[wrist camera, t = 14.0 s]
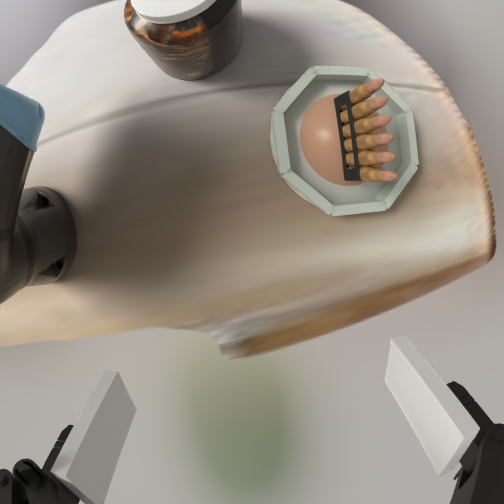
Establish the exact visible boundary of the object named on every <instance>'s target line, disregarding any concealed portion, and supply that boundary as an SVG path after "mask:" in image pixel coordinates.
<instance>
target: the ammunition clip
mask: <svg viewBox="0 0 504 504" xmlns="http://www.w3.org/2000/svg"><path fill="white" fill-rule="evenodd" d="M384 82H385V81H384V80H383V79H374V80H372V81H370V82H367V83H365V84H361V85H359V86H358V87H356V88H355V89H353V90H352V91H346V92H344V93H343V94H341V95H339V96H337V97H335V98H334V104H335V110H336V117H337V124H338V131H339V138H340V146H341V154H342V163H343V172H344V180H345V181H368V182H376V183H377V182H384V181H385V182H389V181H393V180H395V179H397V177H398V176H397V174H396V173H394V172H393V171H391V170H386V169H381V168H379V167H373V166H376V165H379V164H383V163H389V162H392V161H394V160H395V158H396V156H395V155H394V154H393V153H391V152H387V151H377V150H371V149H374V148H377V147H378V146H382V145H386V144H388V143H390V142H391V141H393V139H394V137H393V136H392V135H391V134H387V133H377V134H374V133H370V132H373V131H375V130H376V129H378V128H381V127H383V126H385V125H387V124H388V123H389V122H390V121H391V117H390V116H387V115H378V116H373V117H367V116H369V115H371V114H373V113H374V112H375V111H377V110H378V109H381V108H382V107H384V106H385V105H386V104H387V102H388V98H386V97H376V98H373V99H370V100H366V99H368V98H370V97H371V96H372V94H374V93H375V92H377V91H378V90H380V89H381V88H382V86H383V85H384ZM359 119H360V120H359ZM354 121H355V122H354ZM362 134H365V135H362ZM359 135H361V136H359ZM360 150H367V151H360ZM366 166H367V167H366Z"/></svg>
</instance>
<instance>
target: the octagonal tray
mask: <svg viewBox="0 0 504 504" xmlns="http://www.w3.org/2000/svg"><path fill="white" fill-rule="evenodd" d="M374 79H381V78H380V77H379V76H378V75H377V74H376V73H375V72H374V71H373V70H371V69H370V70H368V68H367V67H352V66H312V68H311V67H309V69H308V70H307V71H306V72H305V73H304V74H303V75H302V76H301V77H300V78H299V80H298V81H297V82H296V83H294V84H293V85H292V86H291V87H290V88H289V89H288V90H287V91H286V92H285V94H284V95H283V96H282V98H281V100H280V101H279V102H278V103H277V105H276V106H275V107H274V108H273V110H272V112H271V115H270V118H271V126H270V145H271V150H272V155H273V158H274V161H275V164H276V166H277V170H278V173H280V174H281V175H280V177H281V178H283V179H284V180H285V182H286V183H287V184H288V185H289V186H290V188H291V189H292V190H293V191H295V192H296V193H297V194H298V195H299V196H300V197H302V198H303V199H305V200H306V201H308V202H310V203H311V204H313V205H315V206H317V207H318V208H319V209H320V210H322V211H323V212H324V213H326V214H328V215H329V216H330V215H331V216H341V215H350V214H359V213H369V212H378V211H386V209H389V208H390V206H391V205H392V203H393V202H394V201H395V199H396V198H397V197H398V195H399V194H400V193H401V191H402V190H403V188H404V187H405V186H406V184H407V183H408V181H409V180H410V179H411V177H412V176H413V174H414V173H415V171H416V170H417V169H418V167H417V166H416V165H419V161H418V151H417V141H416V133H415V126H414V119H413V112H412V111H409V110H410V109H411V108H410V107H409V106H408V104H407V103H406V102H405V101H404V100H403V99H402V98H401V97H400V96H399V95H398V94H397V93H396V92H395V91H394V90H393V89H392V88H391V87H390V86H389V85H388V84H387V83H386V82H384V85H383V86H382V88H381V89H380V90H378V91H377V92H375V93H374V94H372V96H371V97H370V98H368V99H366V100H370V99H373V98H376V97H386V98H388V102H387V104H386V105H385V106H384V107H382V108H381V109H378V110H377V111H375V112H374V113H373V114H371V115H369V116H367V117H373V116H378V115H387V116H390V117H391V121H390V122H389V123H388V124H387V125H385V126H383V127H381V128H378V129H376V130H375V131H373V132H370V133H374V134H377V133H387V134H391V135H392V136H393V137H394V139H393V141H391V142H390V143H388V144H386V145H382V146H378V147H377V148H374V149H371V150H377V151H387V152H391V153H393V154H394V155H395V156H396V158H395V160H394V161H392V162H389V163H383V164H379V165H376V166H373V167H379V168H381V169H386V170H391V171H393V172H394V173H396V174H397V176H398V177H397V179H395V180H393V181H389V182H385V181H384V182H377V183H376V182H368V181H345V180H344V172H343V163H342V154H341V146H340V138H339V131H338V124H337V117H336V110H335V104H334V98H335V97H337V96H339V95H341V94H343V93H344V92H346V91H352V90H353V89H355V88H356V87H358V86H359V85H361V84H365V83H367V82H370V81H372V80H374ZM359 120H360V119H359ZM354 122H355V121H354ZM362 135H365V134H362ZM359 136H361V135H359ZM360 151H367V150H360ZM366 167H367V166H366Z"/></svg>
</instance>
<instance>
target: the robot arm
mask: <svg viewBox="0 0 504 504" xmlns="http://www.w3.org/2000/svg"><path fill="white" fill-rule="evenodd" d="M44 119H45V112H44V109H43V107H42V105H41V104H40V103H39V102H37V101H35V100H33V99H31V98H29V97H27V96H25V95H23V94H20V93H18V92H16V91H14V90H12V89H10V88H7V87H5V86H3V85H1V84H0V304H1V303H3V302H4V301H5V300H7V299H8V298H10V297H11V296H12V295H14V294H15V293H17V292H18V291H19V290H21V289H22V288H24V287H27V286H36V285H45V284H49V283H52V282H54V281H56V280H57V279H58V278H60V277H61V276H63V275H64V274H65V273H66V272H67V271H68V269H69V268H70V266H71V264H72V262H73V259H74V256H75V251H76V232H75V226H74V222H73V219H72V216H71V213H70V211H69V209H68V207H67V205H66V204H65V202H64V201H63V200H62V199H61V197H60V196H59V195H58V194H56V193H55V192H54V191H52V190H51V189H48V188H46V187H32V188H27V189H24V190H23V188H24V184H25V181H26V177H27V174H28V170H29V167H30V164H31V161H32V158H33V155H34V152H36V150H37V146H36V145H37V141H38V138H39V135H40V132H41V129H42V126H43V123H44ZM385 383H386V384H387V386H388V388H389V389H390V391H391V393H392V394H393V396H394V398H395V399H396V401H397V403H398V405H399V406H400V408H401V410H402V411H403V413H404V415H405V417H406V418H407V420H408V422H409V424H410V425H411V427H412V429H413V431H414V432H415V434H416V436H417V437H418V440H419V441H420V443H421V445H422V447H423V449H424V450H425V452H426V454H427V456H428V458H429V460H430V461H431V463H432V465H433V467H434V469H435V471H436V472H437V475H438V476H441V475H443V474H445V473H447V472H449V471H451V470H453V469H454V468H455V466H456V465H457V464H458V462H460V463H461V465H462V467H461V469H460V470H459V471H458V473H457V474H456V476H455V477H454V480H456V478H457V477H458V480H457V483H456V487H455V490H454V493H453V496H452V499H451V502H450V504H504V424H500V423H499V424H494V423H493V422H492V421H491V420H490V418H489V417H488V416H487V415H486V414H485V412H484V411H483V410H482V408H481V407H480V406H479V405H478V403H477V402H476V401H474V399H473V397H472V396H471V395H469V393H468V391H467V390H466V389H465V388H464V387H463V386H462V385H460V384H458V383H456V382H455V381H453V382H451V383H448V384H445V382H444V381H443V380H442V379H441V378H440V376H439V375H438V374H437V373H436V371H434V369H433V368H432V367H431V365H430V364H429V363H428V362H427V361H426V360H425V358H424V357H423V356H422V355H421V353H420V352H419V351H418V350H417V349H416V348H415V346H414V345H413V344H412V343H411V342H410V341H409V339H408V338H407V337H406V336H405V335H403V336H399V337H395V338H391V342H390V350H389V357H388V363H387V369H386V375H385ZM135 412H136V407H135V406H134V404H133V402H132V400H131V398H130V396H129V394H128V392H127V389H126V387H125V385H124V383H123V381H122V379H121V377H120V375H119V372H118V371H105V372H104V374H103V375H102V377H101V379H100V380H99V382H98V384H97V386H96V387H95V389H94V391H93V393H92V394H91V396H90V398H89V399H88V401H87V403H86V405H85V407H84V408H83V410H82V412H81V414H80V415H79V417H78V419H77V421H76V423H75V425H68V426H67V427H66V428H65V429H64V430H63V431H62V432H61V434H60V436H59V437H58V439H57V440H58V441H56V443H55V445H54V448H53V449H52V450H51V452H50V454H49V456H48V458H47V460H46V462H45V464H44V466H43V468H42V469H40V468H39V466H38V465H37V464H36V463H35V462H34V461H32V460H31V459H22V460H20V461H18V462H17V463H16V464H15V466H14V468H13V474H12V473H11V472H10V471H8V470H6V469H0V504H78V503H79V500H81V501H83V502H84V503H85V504H104V501H105V498H106V495H107V492H108V489H109V486H110V483H111V480H112V476H113V473H114V471H115V468H116V465H117V462H118V459H119V456H120V453H121V451H122V448H123V445H124V442H125V439H126V437H127V434H128V431H129V428H130V426H131V423H132V420H133V418H134V415H135Z"/></svg>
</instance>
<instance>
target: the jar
mask: <svg viewBox="0 0 504 504" xmlns="http://www.w3.org/2000/svg"><path fill="white" fill-rule="evenodd" d="M124 19H125V23H126V25H127V28H128V30H129V31H130V33H131V34H132V36H133V37H134V38H135V39H136V41H137V42H138V43H139V44H140V46H141V47H142V48H143V49H144V50H145V52H146V53H147V54H148V55H149V56H150V57H151V58H152V60H153V61H154V62H155V63H156V64H157V65H158V66H159V67H160V68H161V70H163V71H164V72H165V73H166V74H168V75H170V76H172V77H174V78H177V79H182V80H197V79H202V78H206V77H209V76H211V75H213V74H216V73H217V72H219V71H221V70H222V69H224V68H225V67H226V66H227V65H229V64H230V63H231V61H232V60H233V59H234V58H235V56H236V55H237V53H238V51H239V48H240V45H241V39H242V7H241V0H127V2H126V5H125V10H124Z"/></svg>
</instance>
